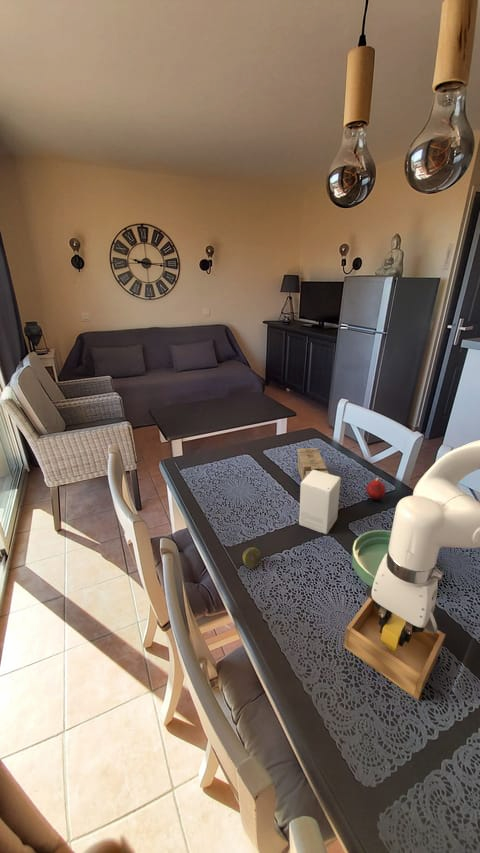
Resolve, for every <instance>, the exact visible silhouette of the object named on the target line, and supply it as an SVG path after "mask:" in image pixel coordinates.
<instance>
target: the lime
mask: <svg viewBox="0 0 480 853" xmlns="http://www.w3.org/2000/svg"><path fill="white" fill-rule="evenodd" d="M242 561H243V563H244V565H245V566H246V567H247V568H248V569H251V570H253V569H255V568H257V567H258V566H259V564H260V563H261V561H262V552H261V551H260V550H259V549H258V548H256V547H248V548H246V549H245V550H244V551H243V553H242Z"/></svg>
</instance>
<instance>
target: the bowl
mask: <svg viewBox="0 0 480 853" xmlns="http://www.w3.org/2000/svg"><path fill="white" fill-rule="evenodd" d="M391 532H392V530H387V529H374V530H368V531H366V532H364V533H361V534H360V535H358V537H356V538H355V540H354V542H353V545H352V550H351V566H352V568H353V570H354V572H355V574H356V575H357V576H358V578H360V579H361V581H362V582H363V583H364V584H366V585H367V586H368V587H369V586H371V585H372V584H373V583H374V580H375V577H376V574H377V571H378V568H379V566H380V563H381V561H382V560H383V558H384V556H385V554H386V553H388V548H389V542H390V537H391Z"/></svg>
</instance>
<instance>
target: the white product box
mask: <svg viewBox="0 0 480 853" xmlns="http://www.w3.org/2000/svg"><path fill="white" fill-rule="evenodd" d="M341 482H342V477H341V476H337V475H334V474H331V473H329V474H327V473H324V472H320V471H317V470H312V471H311V472H310V473H309V475H308V476H307V477H306V478H305V479H304V480H303V481H302V480H301V482H300V489H299V490H300V491H299V492H300V493H299V495H300V496H299V516H298V517H299V520H298V522H299V523H298V525H300V526H302V527H305V528H307V529H309V530H312V531H315V532H318V533H320V534H321V533H323V534H324V535H328V534H329V532H330V530H332V528H333V526H334V524H335V523H336V522H337V520H338V516H339V515H338V513H339V505H340V504H339V503H340V493H341V492H340V491H341Z"/></svg>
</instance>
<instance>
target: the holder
mask: <svg viewBox="0 0 480 853" xmlns="http://www.w3.org/2000/svg"><path fill="white" fill-rule="evenodd" d="M378 612H379V611H378V609H377V608H376V606H375V605H374V603H373V600H371V599H370V598H369V597H368V598H367V599H366V601H365V602H364V603H363V605H362V606H361V607H360V609H359V610H358V611H357V613H356V614H355V615H354V617H353V618H352V619H351V621H350V622H349V624H348V625H347V626H346V628H345V634H344V642H343V647H344V648H345V649H346V650H347V651H348V652H350V653H351V654H353V655H354V656H356V657H357V658H359V659H360V660H361V661H363V662H364V663H365V664H367V665H368V666H370V668H373V669H374V670H375V671H376V672H378V673H379V674H381V675H382V676H383V677H385V678H386V679H388V680H389V681H391V682H392V683H393V684H395V686H397V687H399V688H400V689H401V690H403V691H404V692H406V693H407V694H409V695H410V696H411V697H412V698H414V699H415V700H416V701H419V700H420V698H421V696H422V694H423V692H424V690H425V687H426V685H427V682H428V680H429V678H430V676H431V675H432V674H431V673H432V671H433V670H434V667H435V665H436V663H437V660H438V658H439V657H440V654H441V651H442V648H443V645H444V641H445V638H446V633H444V632H442V631H441V630H437V632H436V634H431V633H426V632H425V631H423V632H413V633H412V636H411V639H410V641H409V643H407V642H406V641H405V643H404V644H403V646H402V647H401V646H400V645H399V647H398V648H397V650H396V652H394V651H393V650H391V649H390V648H388V647H387V646H385V645H384V644H382V643H381V642H380V640H381V635H382V634H381V633H380V628H381V625H379V620H380V616H379V614H378Z"/></svg>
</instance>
